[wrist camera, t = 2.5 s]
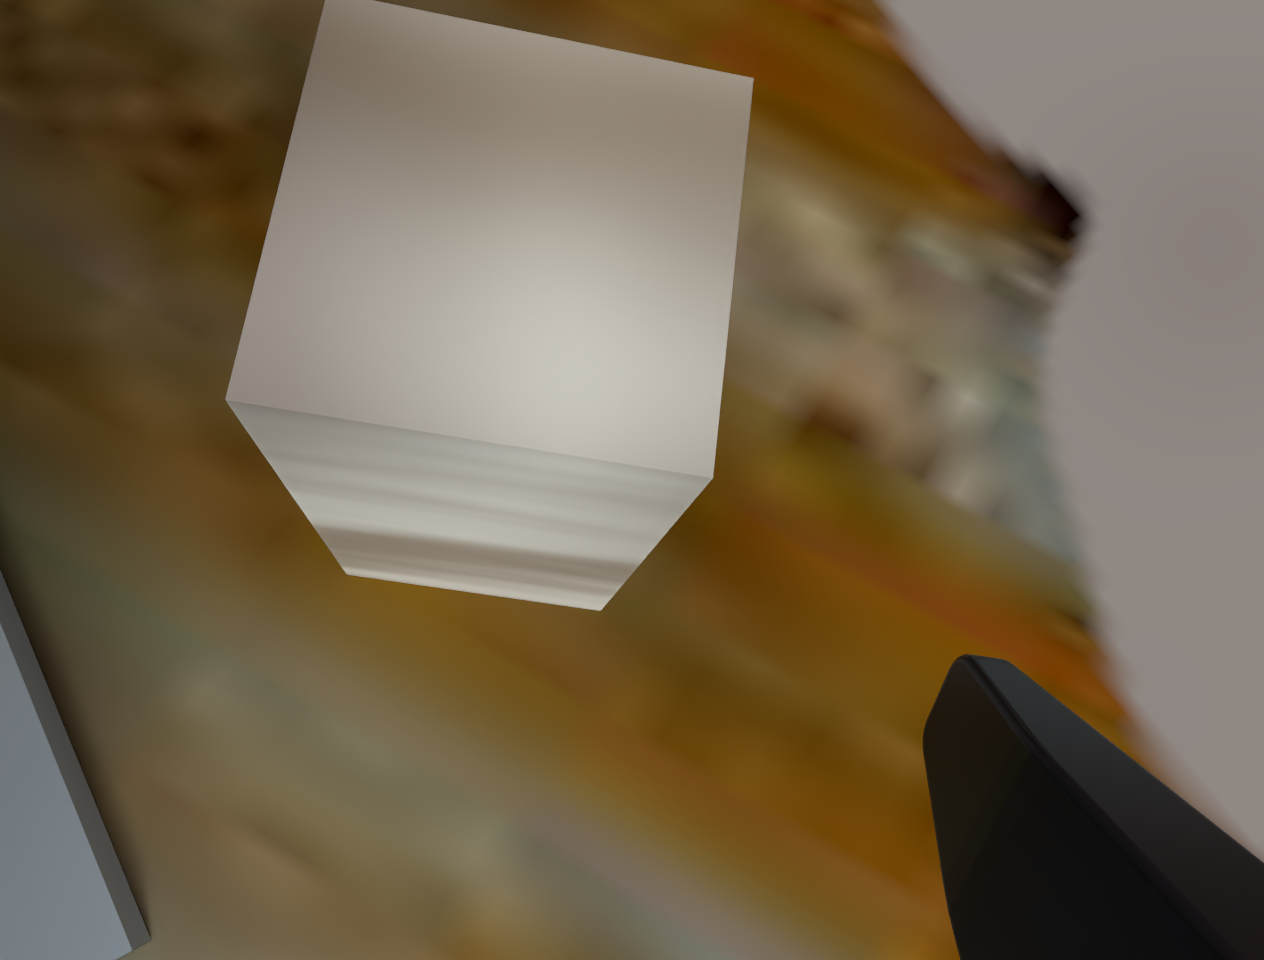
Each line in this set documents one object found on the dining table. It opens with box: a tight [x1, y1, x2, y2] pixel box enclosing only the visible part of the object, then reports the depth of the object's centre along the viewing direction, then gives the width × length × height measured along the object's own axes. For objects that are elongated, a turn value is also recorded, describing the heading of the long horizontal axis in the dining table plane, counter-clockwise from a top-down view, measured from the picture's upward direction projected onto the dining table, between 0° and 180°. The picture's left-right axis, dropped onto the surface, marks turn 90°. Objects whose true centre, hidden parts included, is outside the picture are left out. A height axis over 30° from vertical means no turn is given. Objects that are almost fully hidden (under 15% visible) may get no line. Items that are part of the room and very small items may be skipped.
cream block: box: [225, 0, 754, 611], centre depth 16 cm, size 5×5×10 cm
